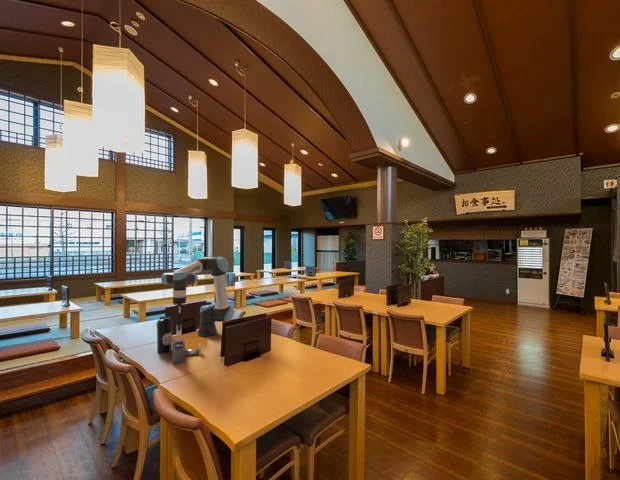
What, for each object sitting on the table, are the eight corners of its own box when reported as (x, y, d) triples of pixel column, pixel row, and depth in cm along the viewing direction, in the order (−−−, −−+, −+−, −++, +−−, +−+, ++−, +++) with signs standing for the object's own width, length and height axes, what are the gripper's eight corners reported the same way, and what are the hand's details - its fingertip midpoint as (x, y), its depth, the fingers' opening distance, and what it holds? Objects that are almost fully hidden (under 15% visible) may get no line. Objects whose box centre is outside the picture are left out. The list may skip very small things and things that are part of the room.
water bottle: (160, 355, 200) (161, 319, 200) (153, 351, 206) (153, 317, 206) (175, 351, 208) (176, 317, 208) (167, 347, 214) (168, 314, 214)
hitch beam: (172, 352, 205) (172, 336, 205) (183, 351, 208) (183, 335, 208) (172, 364, 185) (172, 346, 185) (184, 362, 188) (185, 345, 188)
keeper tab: (174, 344, 191) (174, 340, 185) (182, 343, 193) (183, 339, 187) (174, 346, 190) (174, 342, 184) (182, 345, 192) (183, 341, 186)
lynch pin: (200, 352, 206) (200, 343, 206) (201, 355, 200) (201, 346, 200) (183, 354, 202) (183, 345, 202) (184, 357, 195) (184, 348, 196)
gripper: (172, 295, 192) (172, 333, 192) (172, 298, 180) (172, 339, 180) (185, 294, 195) (185, 331, 195) (186, 298, 184) (185, 337, 183)
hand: (178, 335), depth 187 cm, fingers closed
